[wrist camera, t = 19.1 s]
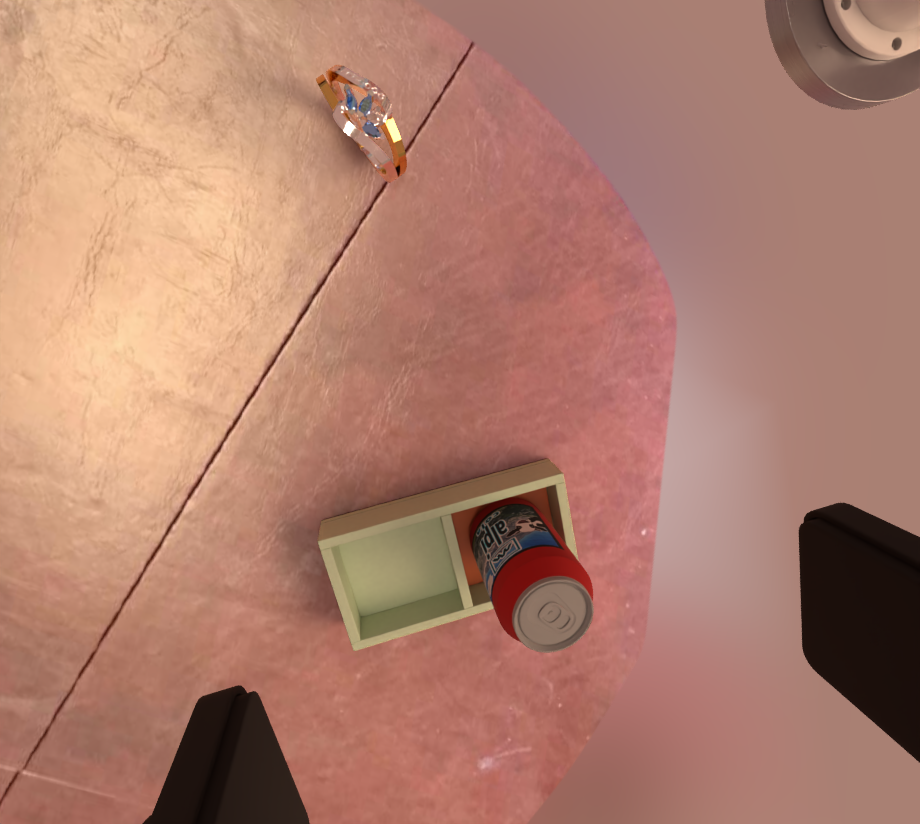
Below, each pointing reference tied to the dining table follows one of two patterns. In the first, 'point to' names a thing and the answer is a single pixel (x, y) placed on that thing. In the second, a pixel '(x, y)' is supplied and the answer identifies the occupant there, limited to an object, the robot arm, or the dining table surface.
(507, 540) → the beverage can
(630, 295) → the dining table surface
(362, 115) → the ring
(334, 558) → the grid
